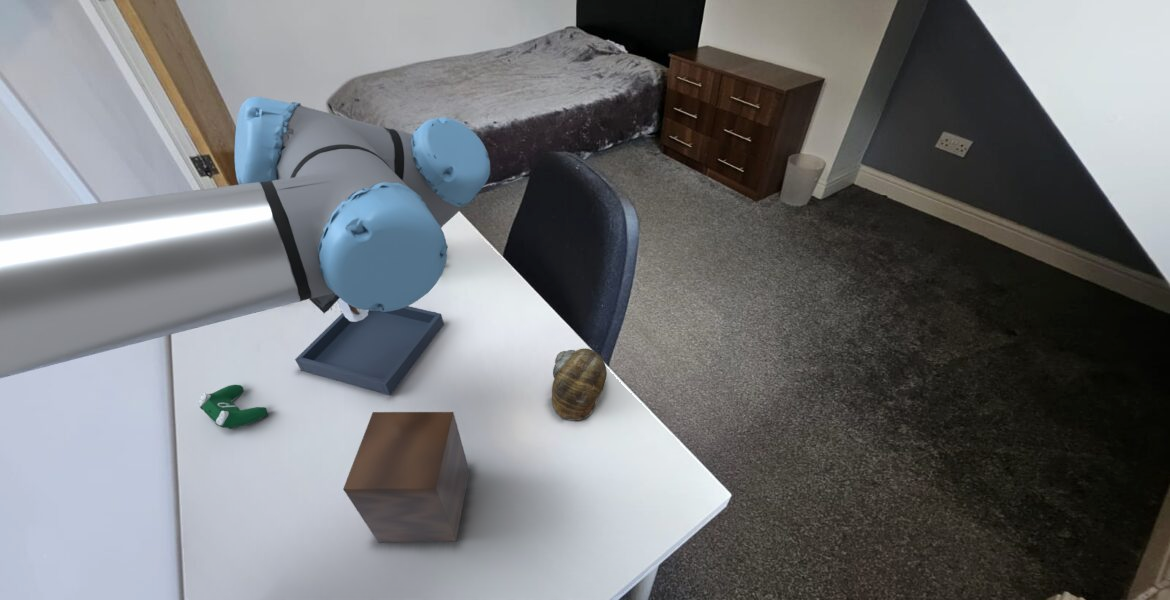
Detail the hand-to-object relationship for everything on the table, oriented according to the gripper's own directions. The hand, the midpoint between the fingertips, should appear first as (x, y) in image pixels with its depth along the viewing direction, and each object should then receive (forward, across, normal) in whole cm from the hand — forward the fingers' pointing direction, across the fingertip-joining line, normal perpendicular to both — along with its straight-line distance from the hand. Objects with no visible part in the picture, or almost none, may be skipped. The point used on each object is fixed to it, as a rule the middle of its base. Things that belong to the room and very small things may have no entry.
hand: (333, 293), depth 68 cm
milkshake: (0, 0, -5) cm, 5 cm away
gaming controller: (+22, -15, -4) cm, 27 cm away
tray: (+15, +6, -10) cm, 19 cm away
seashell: (-11, +12, -37) cm, 40 cm away
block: (-3, -14, -29) cm, 33 cm away
